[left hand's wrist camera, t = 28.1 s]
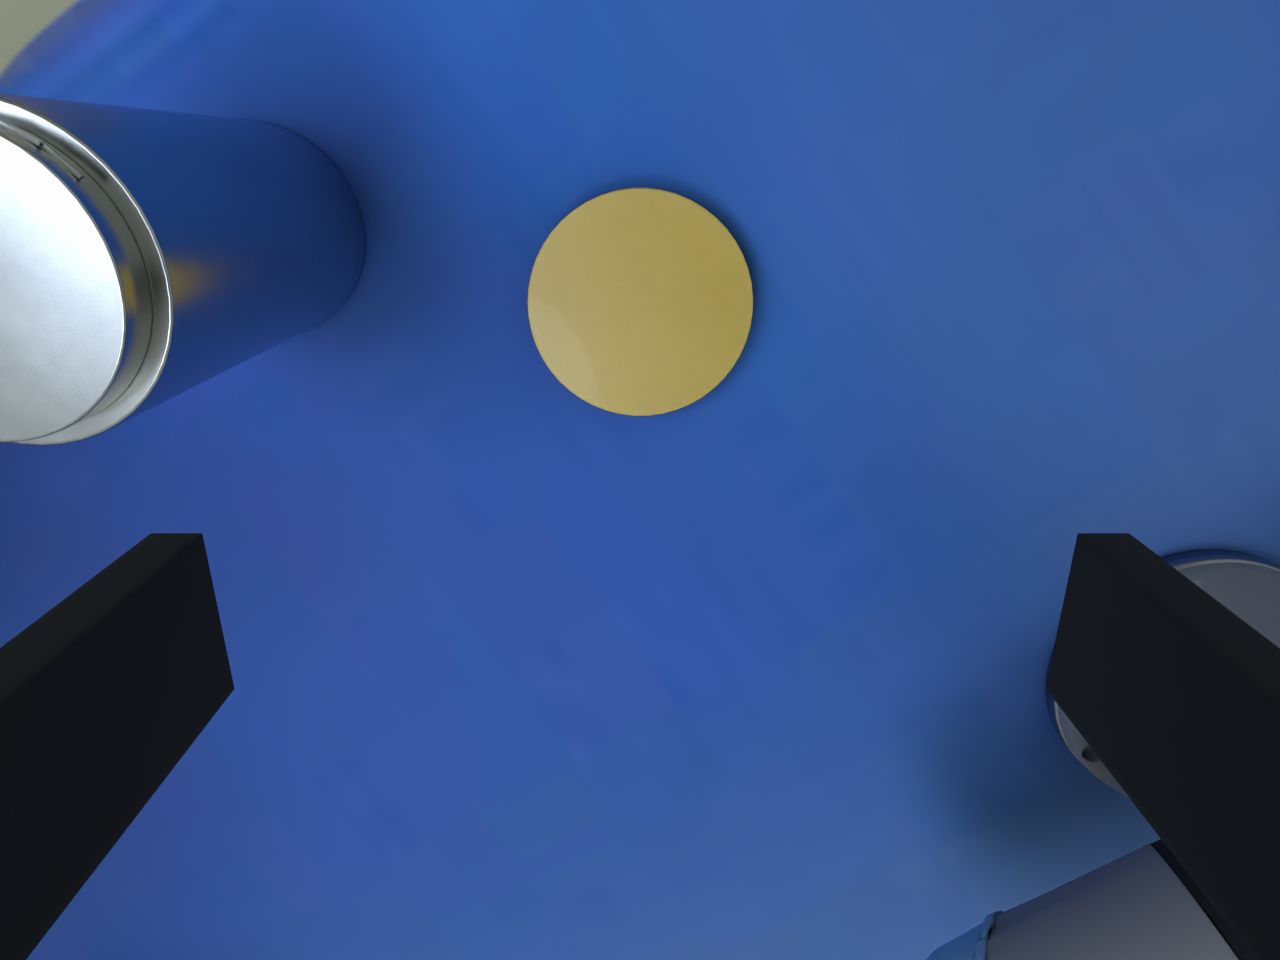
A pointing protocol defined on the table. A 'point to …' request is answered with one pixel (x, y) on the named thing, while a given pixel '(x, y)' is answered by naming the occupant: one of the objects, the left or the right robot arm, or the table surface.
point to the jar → (154, 256)
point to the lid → (640, 301)
